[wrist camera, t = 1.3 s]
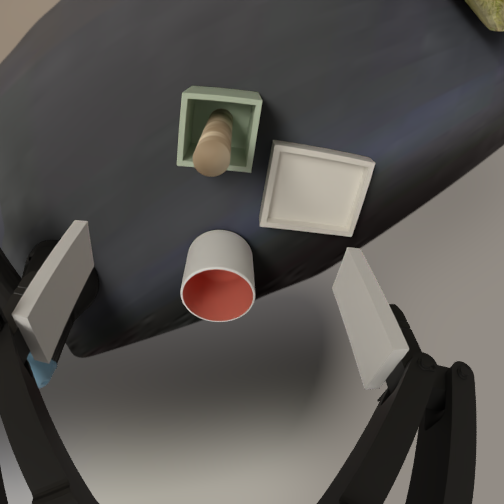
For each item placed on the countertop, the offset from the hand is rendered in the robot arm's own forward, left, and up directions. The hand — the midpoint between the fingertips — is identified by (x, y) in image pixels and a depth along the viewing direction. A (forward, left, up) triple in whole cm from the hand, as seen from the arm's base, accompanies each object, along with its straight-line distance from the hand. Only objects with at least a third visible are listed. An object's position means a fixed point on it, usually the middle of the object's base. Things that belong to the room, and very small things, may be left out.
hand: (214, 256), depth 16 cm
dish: (+13, -7, -29) cm, 32 cm away
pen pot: (-1, +1, -29) cm, 29 cm away
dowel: (-1, +1, -28) cm, 28 cm away
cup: (+1, -20, -29) cm, 35 cm away
